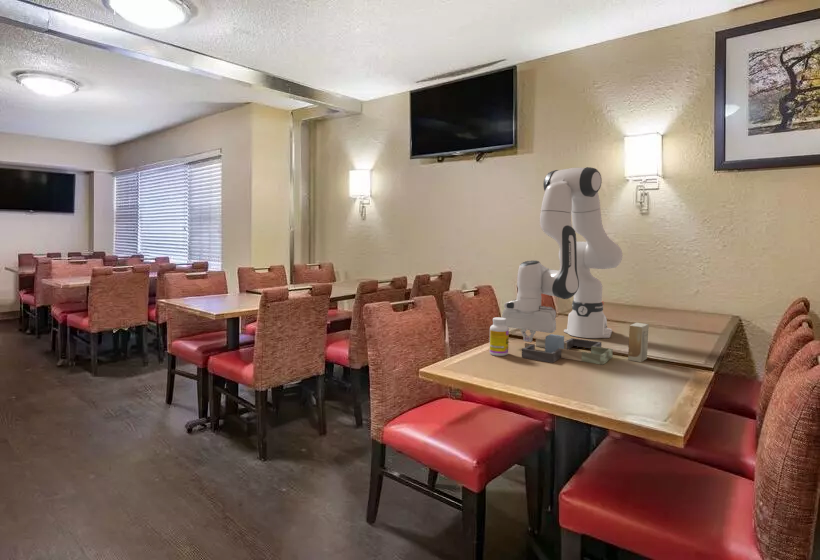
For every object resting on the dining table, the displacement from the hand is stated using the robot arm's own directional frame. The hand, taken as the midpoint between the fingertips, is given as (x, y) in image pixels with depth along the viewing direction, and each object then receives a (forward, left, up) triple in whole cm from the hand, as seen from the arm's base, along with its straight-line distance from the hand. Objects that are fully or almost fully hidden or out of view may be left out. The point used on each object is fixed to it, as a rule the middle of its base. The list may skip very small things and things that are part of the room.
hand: (527, 341), depth 179 cm
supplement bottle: (+14, -5, -3) cm, 15 cm away
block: (0, +10, -3) cm, 11 cm away
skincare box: (-8, +36, -3) cm, 37 cm away
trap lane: (0, +14, -3) cm, 15 cm away
